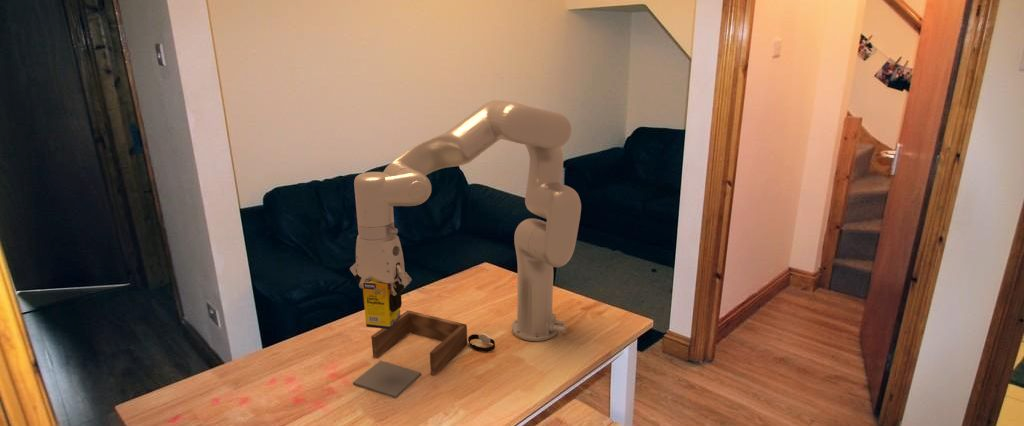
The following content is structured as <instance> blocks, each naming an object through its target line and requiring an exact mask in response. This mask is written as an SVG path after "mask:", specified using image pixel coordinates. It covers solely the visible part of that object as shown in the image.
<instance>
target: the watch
mask: <svg viewBox="0 0 1024 426" xmlns="http://www.w3.org/2000/svg"><path fill="white" fill-rule="evenodd" d="M473 340H480V342H481V343H483V344H485V343H486V345H489V344H491V346H487V347H486V346H485V347H484V346H483V347H482V346H480V345H475V344H473V343H472V342H471V341H473ZM467 343H468V346H469V347H470V348H471V349H472V350H475V351H478V352H482V351H483V353H488V352H493V351H494V350H495V348H496V342H495V340H494V338H493V339H492V338H491V337H490V335H488V334H487V333H485V332H483V333H480V334H471V335H469V336H467Z"/></svg>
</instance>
